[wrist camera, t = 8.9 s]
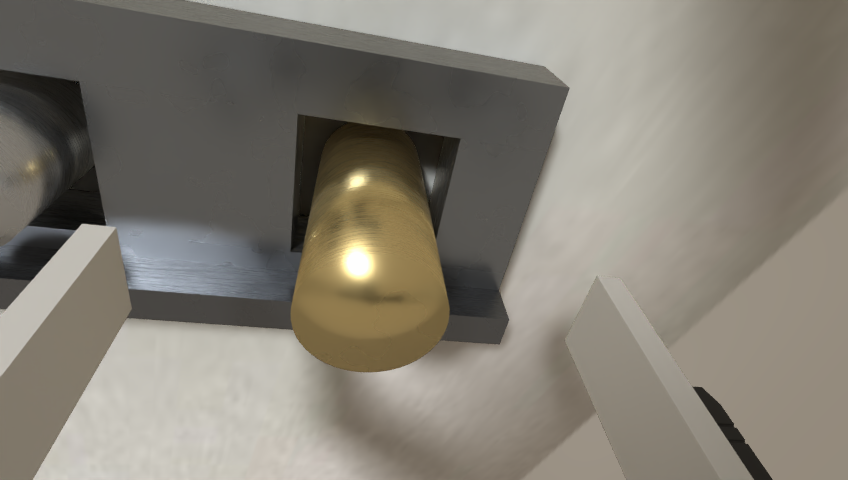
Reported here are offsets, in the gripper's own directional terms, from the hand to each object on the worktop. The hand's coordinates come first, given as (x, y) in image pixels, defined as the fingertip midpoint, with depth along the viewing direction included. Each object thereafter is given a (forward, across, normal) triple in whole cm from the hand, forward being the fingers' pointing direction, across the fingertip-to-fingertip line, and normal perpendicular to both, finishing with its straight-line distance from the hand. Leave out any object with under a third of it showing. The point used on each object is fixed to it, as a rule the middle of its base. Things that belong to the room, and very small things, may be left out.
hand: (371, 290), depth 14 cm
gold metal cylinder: (+9, 0, -1) cm, 9 cm away
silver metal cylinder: (+9, -13, -1) cm, 16 cm away
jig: (+9, -6, -1) cm, 11 cm away
